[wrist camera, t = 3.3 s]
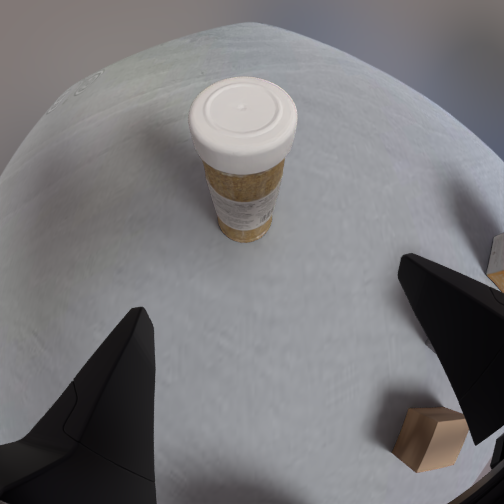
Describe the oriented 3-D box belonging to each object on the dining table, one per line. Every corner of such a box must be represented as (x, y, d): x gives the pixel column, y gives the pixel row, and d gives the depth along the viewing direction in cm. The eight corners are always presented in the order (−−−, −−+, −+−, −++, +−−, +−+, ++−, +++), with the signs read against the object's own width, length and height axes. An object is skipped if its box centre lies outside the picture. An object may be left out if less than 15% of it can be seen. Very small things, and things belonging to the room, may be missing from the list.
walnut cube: (427, 448, 18) (453, 464, 13) (391, 452, 18) (416, 472, 13) (443, 406, 19) (473, 417, 14) (408, 407, 19) (438, 421, 15)
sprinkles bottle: (245, 183, 24) (245, 61, 11) (283, 219, 23) (322, 111, 10) (206, 217, 23) (164, 109, 10) (243, 256, 22) (239, 173, 9)
